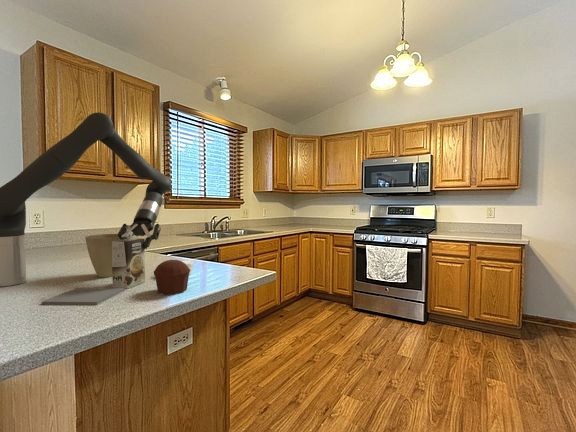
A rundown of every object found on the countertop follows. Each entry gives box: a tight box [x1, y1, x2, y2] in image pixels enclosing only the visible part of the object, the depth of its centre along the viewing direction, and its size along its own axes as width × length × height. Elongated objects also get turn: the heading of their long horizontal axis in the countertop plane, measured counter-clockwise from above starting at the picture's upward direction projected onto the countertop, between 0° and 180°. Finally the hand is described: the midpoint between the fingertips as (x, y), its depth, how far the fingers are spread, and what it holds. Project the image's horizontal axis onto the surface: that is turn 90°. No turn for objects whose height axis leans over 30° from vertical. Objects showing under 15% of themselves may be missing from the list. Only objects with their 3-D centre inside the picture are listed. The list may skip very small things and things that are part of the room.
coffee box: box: [111, 237, 146, 290], centre depth 107 cm, size 9×6×16 cm
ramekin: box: [178, 259, 194, 276], centre depth 123 cm, size 11×11×5 cm
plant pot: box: [84, 233, 128, 278], centre depth 122 cm, size 15×15×16 cm
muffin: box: [153, 259, 191, 296], centre depth 100 cm, size 12×11×10 cm
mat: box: [40, 287, 125, 306], centre depth 94 cm, size 16×14×1 cm
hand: (133, 247), depth 110 cm, fingers open, 8 cm apart
